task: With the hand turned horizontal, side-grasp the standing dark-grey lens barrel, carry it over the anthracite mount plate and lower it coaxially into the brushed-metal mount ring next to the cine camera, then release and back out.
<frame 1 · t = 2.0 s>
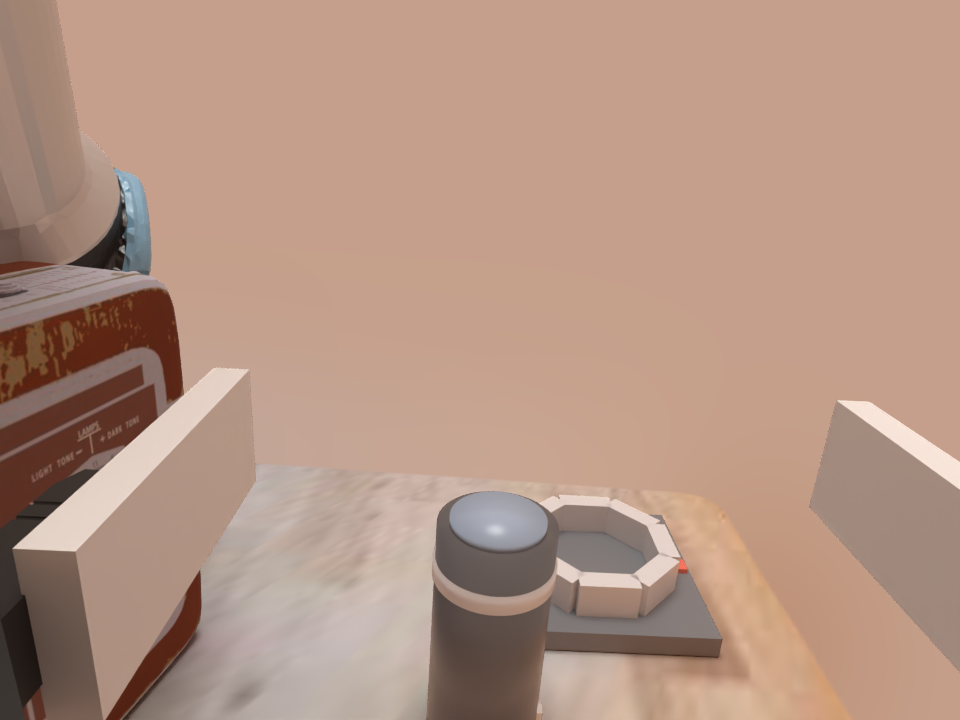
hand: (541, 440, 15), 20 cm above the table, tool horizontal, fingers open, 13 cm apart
mount plate: (589, 580, 41), on the table
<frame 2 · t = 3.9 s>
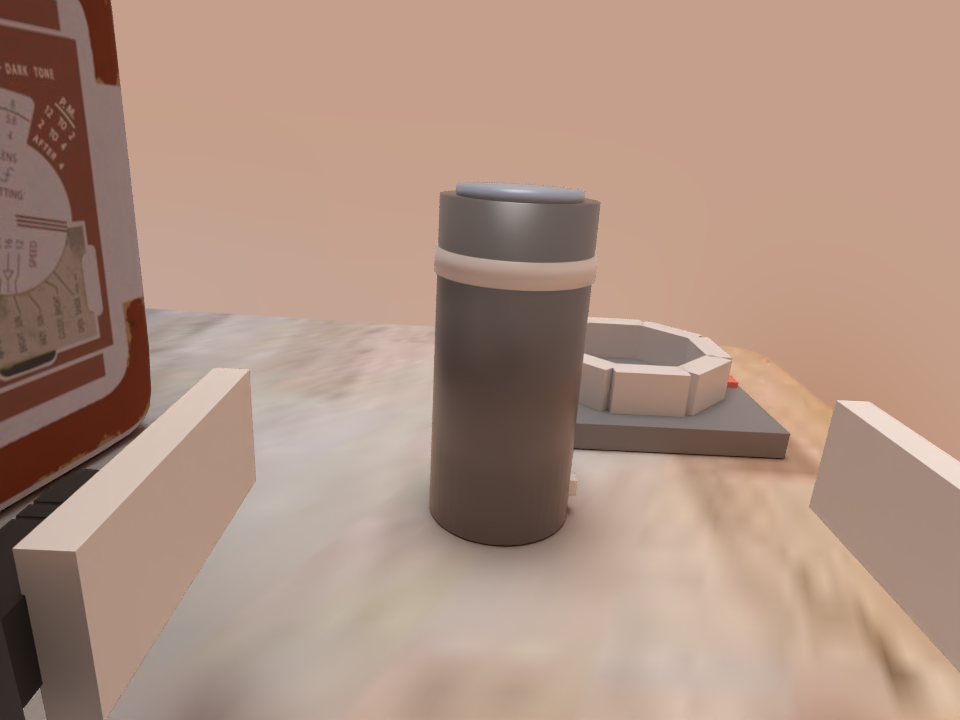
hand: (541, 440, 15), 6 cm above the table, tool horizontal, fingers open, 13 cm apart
lens: (497, 505, 24), on the table
mount plate: (621, 400, 35), on the table
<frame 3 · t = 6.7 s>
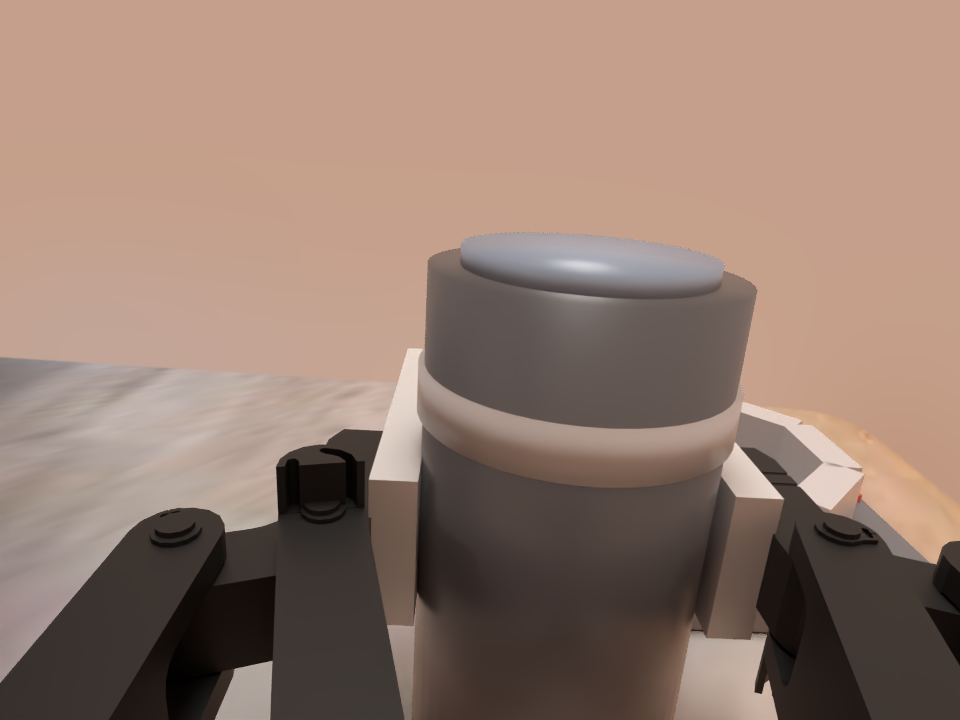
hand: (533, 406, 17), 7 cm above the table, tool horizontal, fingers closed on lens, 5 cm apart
mount plate: (691, 516, 24), on the table
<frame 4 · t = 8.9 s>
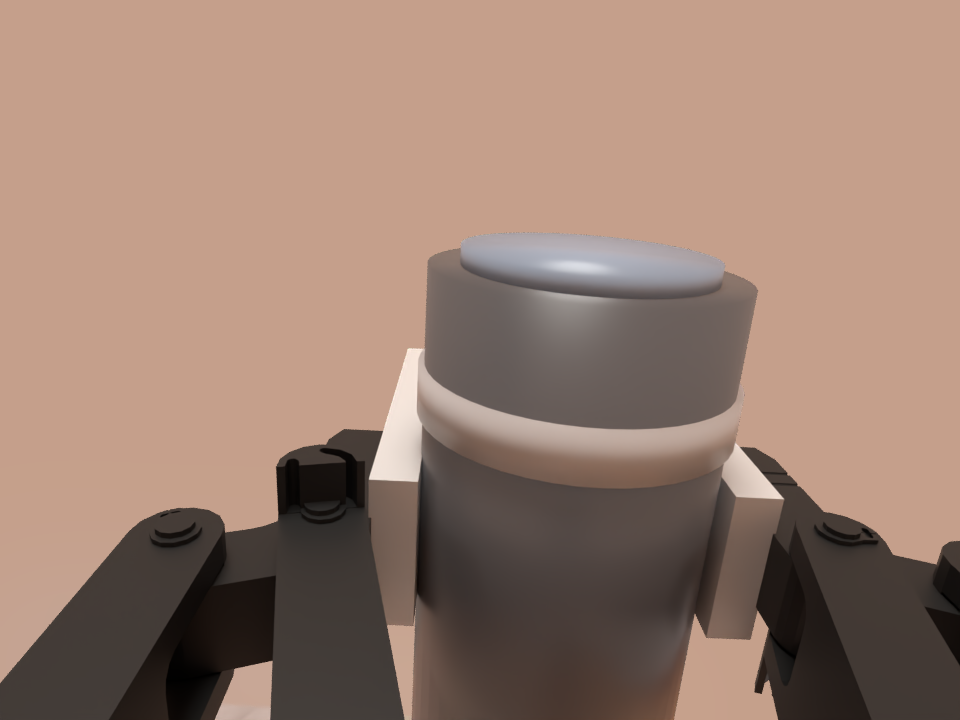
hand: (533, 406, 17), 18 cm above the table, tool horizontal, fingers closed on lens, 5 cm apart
when the fingers open (9 cm above the table, at t = 11.1 s): lens drops 1 cm, resting on mount plate.
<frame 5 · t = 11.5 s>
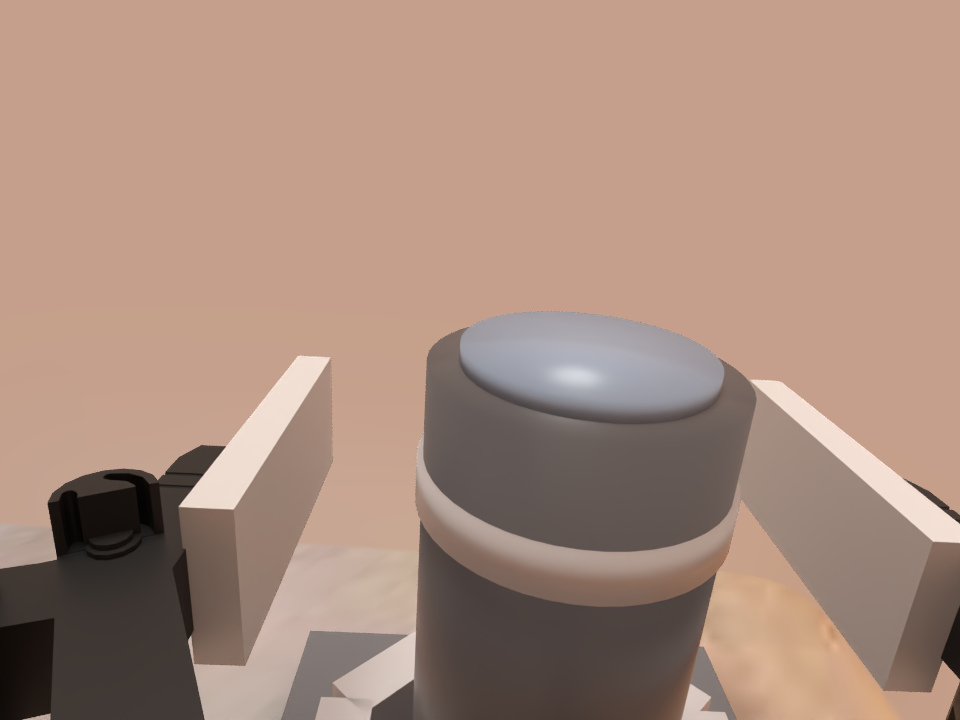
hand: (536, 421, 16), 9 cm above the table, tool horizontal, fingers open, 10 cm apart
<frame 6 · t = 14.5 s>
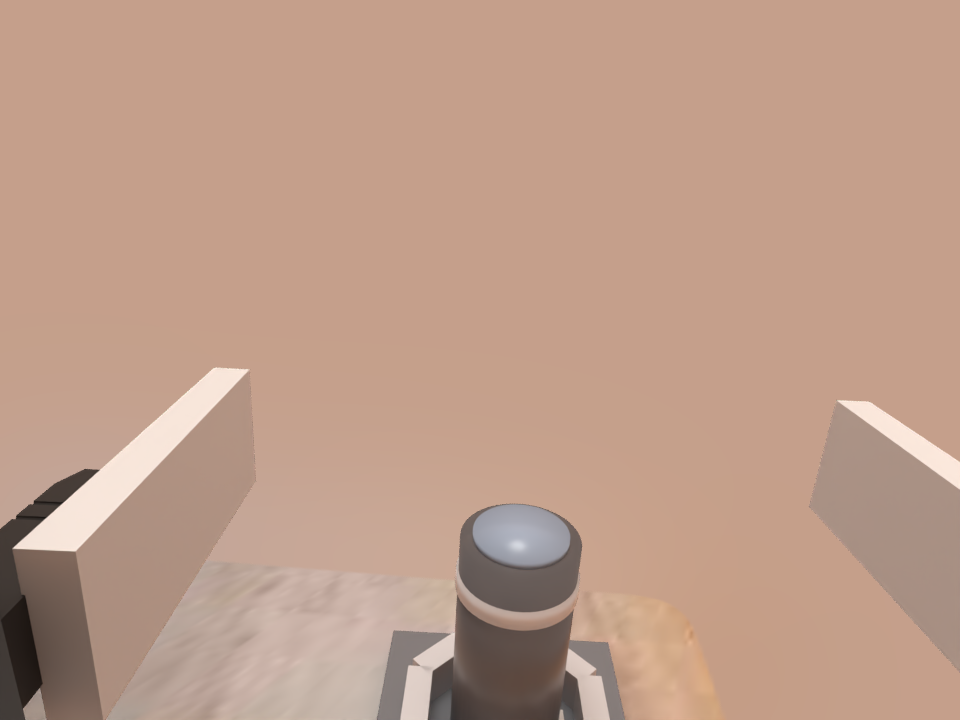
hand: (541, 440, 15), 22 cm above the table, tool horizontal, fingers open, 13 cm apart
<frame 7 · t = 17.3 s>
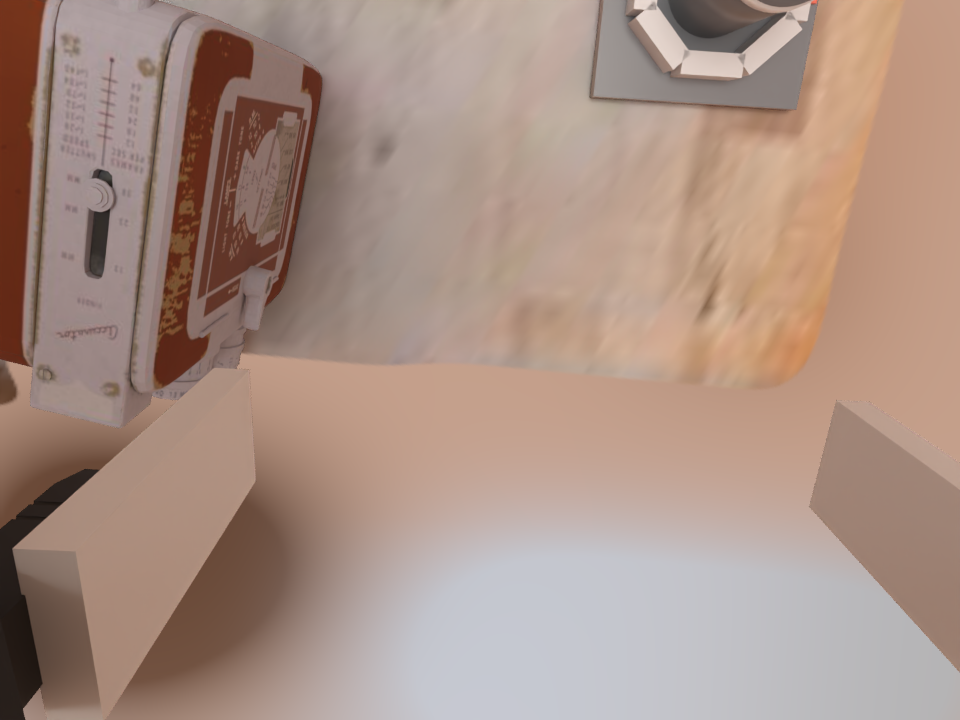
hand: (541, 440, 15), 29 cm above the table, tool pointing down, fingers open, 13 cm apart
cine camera: (245, 211, 41), on the table
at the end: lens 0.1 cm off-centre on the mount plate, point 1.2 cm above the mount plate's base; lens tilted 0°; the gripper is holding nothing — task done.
